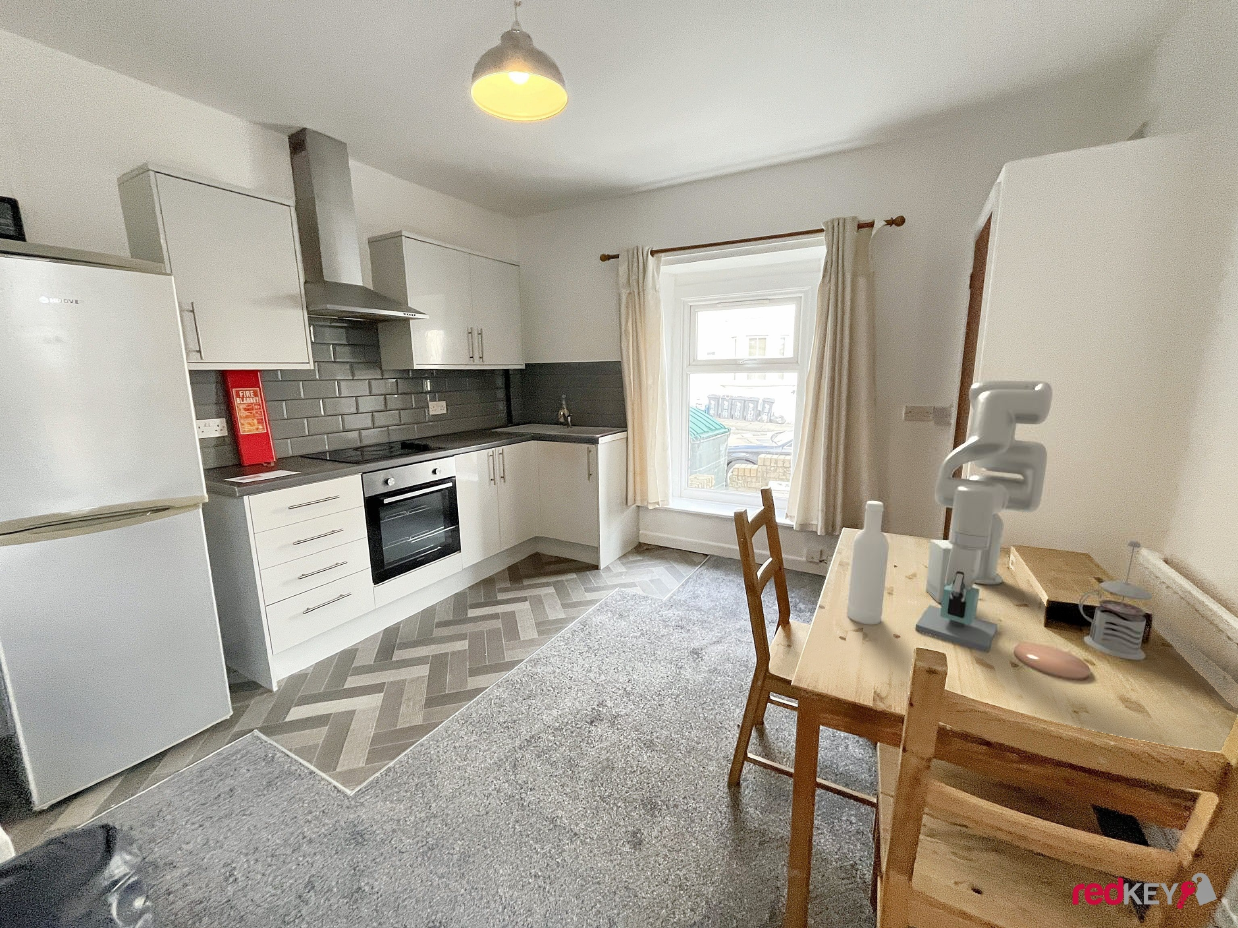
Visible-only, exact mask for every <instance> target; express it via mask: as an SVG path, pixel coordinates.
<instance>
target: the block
mask: <svg viewBox="0 0 1238 928" xmlns="http://www.w3.org/2000/svg"><path fill="white" fill-rule="evenodd" d="M952 585H953V582H952V584H951V585H948V586H946V587H945V588H944V591H943V599H942V603H941V607H940V608H941V614H940V617H944V618H947V619H951V620H954V621H957V622H961V623H964V624H967V625H971V624H972V622H973V621H974V619H975V618H977V617H976V616H977V610H978V603H979V597H980V590H981V589H980V588H977V587H973V586H972V588H971V589H970V590H968V591H967V593H966V598H965V602H966V608H965V615H964V618H960V617H956V616H953V615H949V614H948V613H947V612H948V604H949V598H950V595H951V590H952ZM961 588H965V586H963V585H961ZM960 593H962V594H963V591H962V590H960Z"/></svg>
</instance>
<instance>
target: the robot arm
mask: <svg viewBox="0 0 1238 928" xmlns="http://www.w3.org/2000/svg"><path fill="white" fill-rule="evenodd" d="M968 397H969V398H968V399H969V402H970V405H971V407H972V410H973V412H972V415H971V422H970V427H969V432H968V435H967V440H966V442H964V443H962V444H961V445H959V446H958V447H956V448H954V450H952V451H951V452H950V453H949V454H947V456H946V457H945V458H944V459H943V460H942V462H941V465H940V467H939V471H938V475H937V479H936V484H935V489H934V499H935V501H936V503H937V504H938V505H940V506H942V507H945V508H950V509H951V508H952V510H951V518H950V519H951V520H950V526H949V535H948V540H949V541H948V542H949V543H950V544H952V549H951V553H950V557H949V563H948V568H947V574H946V579H945V584H946V586H948V585H951V584H952V582H953V585H952V590H951V595H950V598H949V604H948V612H947V613H948V614H949V615H953V616H956V617H960V618H964V615H965V608H966V602H965V598H966V593H967V591H968V590H970V589H971V588H972V587H973V586H974V584H975V583H976V584H980V585H989V586H992V585H999V584H1001V583H1002V582H1003V577H1002V575H1000V574H999V573H997V571H998V564H999V560H1000V559H999V558H1000V552H1001V551H1000V550H1001V545H1002V539H1003V532H1004V521H1003V519H1002V518H1001V516H1000V515H999V513H1000V512H1002V511H1003V510H1004V511H1005V510H1006V511H1012V512H1021V513H1033V512H1035V511H1036V510H1038V508H1039V507H1040V504H1041V501H1042V495H1043V488H1044V483H1045V476H1046V470H1047V462H1048V451H1047V448H1046V446H1045V445H1044V444H1043V443H1041V442H1038V441H1033V440H1031V441H1030V440H1018V439H1015V436H1016V428H1017V425H1019V424H1023V425H1040V424H1042V423H1044V422H1045V421H1046V419H1047V417H1048V416H1049V413H1050V409H1051V405H1052V399H1053V389H1052V386H1051V385H1050V383H1049V382H1046V381H1041V380H1040V381H1039V380H985V381H977V382H975V383H973V384H971V386H970V388H969V391H968ZM970 462H971V463H972V462H974V465H975V467H976V468H978V469H979V470H983V471H987V472H995V473H1002V474H1012V475H1013V474H1014V475H1020V476H1021V477H1013V476H1012V477H1011V476H1003V475H996V474H995V475H994V474H982V473H980V474H974V475H970V476H969V477H968V478H961V477H953V475H954V472H955V471H956V470H957V469H958V468H959V467H961V466H963V465H965V464H968V463H970ZM961 585H963V586H965V588H961ZM960 590H962V591H963V594H962V593H960Z"/></svg>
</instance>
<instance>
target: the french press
mask: <svg viewBox="0 0 1238 928" xmlns="http://www.w3.org/2000/svg"><path fill="white" fill-rule="evenodd" d="M1127 546H1129V547H1131V548H1132V550H1131V556H1130V562H1129V565H1128V572H1127V575H1126V580H1125V581H1122V580H1121V581H1120V580H1117V581H1116V580H1112V581H1111V580H1110V581H1109V580H1108V581H1105V582H1101V583H1099V588H1101V590H1103V591H1105V592H1108V593H1110V594H1113V595H1116V596H1119V597H1122V600H1121V601H1118V600H1113V599H1102V595H1103V594H1102V593H1100V591H1099V590H1098V589H1094V590H1088V591H1087V592H1084V594H1083V595H1081V596H1080V598H1079V601H1078V609H1079V611H1080V613H1081V615H1082V616H1083V618H1085V619H1086V620H1087V621H1088V622H1090V623H1091V625H1090V631H1089V635H1087V636H1086V635H1085V636H1084V637H1083V641H1084V642H1085V643H1086V645H1088V646H1090V647H1091V648H1093V649H1094V650H1097V651H1099V652H1102V653H1104V654H1107V655H1110V656H1114V657H1118V658H1121V659H1126V660H1127V659H1129V660H1143V659H1145V658H1146V654H1145V652H1144V651H1143V650H1142V649H1141V646H1142V645H1141V644H1142V640H1143V635H1144V631H1145V626H1146V621H1147V619H1146V618H1145V617H1144V615H1146V612H1145V610H1144V609H1142V608H1140V607H1139V606H1136V605H1134V604H1133V605H1132V604H1130V603H1126V602H1124V601H1125V598H1126V599H1127V598H1128V599H1133V600H1144V601H1145V600H1146V601H1148V600H1150V599H1152V598H1153V595H1152V594H1151V593H1150V592H1149V591H1148V590H1147V589H1145V588H1144V587H1141V586H1139V585H1136V584H1133V583H1131V582H1129V581H1128V580H1129V575H1130V570H1131V565H1132V560H1133V556H1134V555H1133V554H1134V550H1135V548H1136V549H1140V548H1141V547H1142V546H1141V543H1140V542H1138V541H1136V540H1132V541H1129V542H1128V544H1127ZM1091 592H1093V593H1091ZM1094 592H1095V593H1094ZM1089 593H1090V594H1089ZM1086 595H1087V596H1086ZM1094 595H1097V598H1099V599H1101V600H1099V605H1097V606H1096V607H1095V610H1094V611H1095V612H1094V617H1093V619H1092V618H1090V617H1089V616H1086V614H1085V613H1084V610H1083V606H1084V602H1085V601H1086V600H1087V599H1088V598H1089V597H1091V596H1094ZM1085 596H1086V597H1085ZM1083 598H1084V599H1083ZM1082 600H1083V601H1082ZM1102 611H1106V612H1102ZM1107 611H1111V612H1113V613H1110V612H1107ZM1114 613H1115V614H1114ZM1116 614H1118V615H1119V616H1117V615H1116ZM1120 616H1121V617H1123V618H1124V619H1126V620H1124V619H1123V618H1121V617H1120ZM1111 623H1113V624H1115V625H1113V624H1111ZM1112 629H1113V630H1112Z"/></svg>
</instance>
